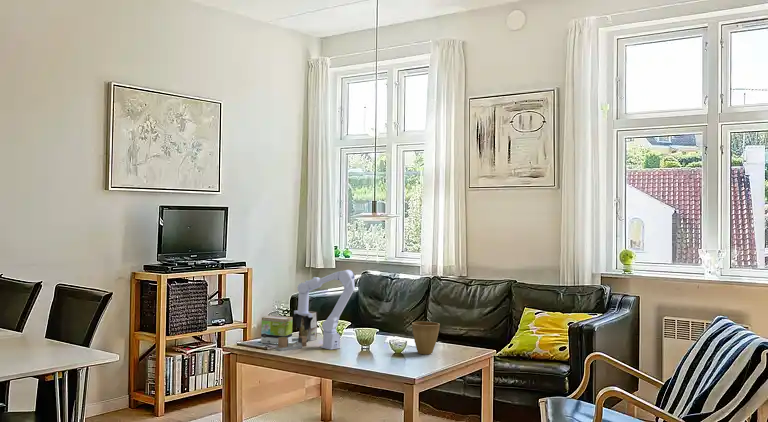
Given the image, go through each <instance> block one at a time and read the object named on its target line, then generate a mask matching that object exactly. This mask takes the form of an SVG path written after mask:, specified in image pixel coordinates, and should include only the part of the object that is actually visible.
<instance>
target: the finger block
mask: <svg viewBox="0 0 768 422" xmlns="http://www.w3.org/2000/svg"><path fill="white" fill-rule="evenodd" d="M297 342H299V343H302V348H303V347H307V342H308V340H307V337H304V336H301V337H299V336H298V338H297Z"/></svg>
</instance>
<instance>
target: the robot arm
mask: <svg viewBox="0 0 768 422" xmlns="http://www.w3.org/2000/svg"><path fill="white" fill-rule="evenodd" d="M355 279H356V278H355V273H354V272H353V271H352V269H345V270H340V271H335V272H332V273H330V274H327V275H326V276H323V277H318V276H317V277H316V276H313V277H312V278H311V279H309V280H306V279H305V282H300V283H299V284H298V285H297V292H298V296H297V297H298V298H297V299H298V301H297V310H293V315H292V317H293V319H294V322H295V327H296V328H297V329H299V328H300V327H301V320H302V317H303V316H306V317H303V320H304V329H305V330H308V329H309V325H310V323H311V321H312V319H313V317H312V314H311V313H309V312H308V311H309V302H310V301H309V300H310V291H311V292H312V291H314V290H316V289H319V288H321V287H322V286H323V284H325V283H328V282H330V281H334V280H335V281H339V282H340V283H341V284H342V285H343V288H344V289H343V291H342V293H341V294H340V296H339V298H338V300H337V302H336V304H335V305H334V308H333V309H332V311H331V313H330V314H329V316H328V317H327V318H326V319H325V320H324V321H323V322H322V323H321V327H322V331H323V332H322V333H323V336H322V339H323V340H322V345H320V346H319V348H321V349H322V348H323V349H326V350H337V349H342V347H341V335H340V333H338V332H337V327H338V323H339V320H340V317H341V315H342V313H343V311H344V309H345V308H346V306H347V304H348V302H349V300H350V298H351V297H352V295H353V293H354V291H355V289H356V288H355Z"/></svg>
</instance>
